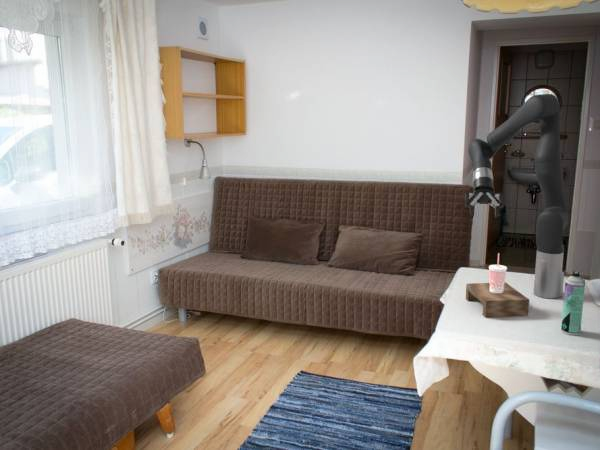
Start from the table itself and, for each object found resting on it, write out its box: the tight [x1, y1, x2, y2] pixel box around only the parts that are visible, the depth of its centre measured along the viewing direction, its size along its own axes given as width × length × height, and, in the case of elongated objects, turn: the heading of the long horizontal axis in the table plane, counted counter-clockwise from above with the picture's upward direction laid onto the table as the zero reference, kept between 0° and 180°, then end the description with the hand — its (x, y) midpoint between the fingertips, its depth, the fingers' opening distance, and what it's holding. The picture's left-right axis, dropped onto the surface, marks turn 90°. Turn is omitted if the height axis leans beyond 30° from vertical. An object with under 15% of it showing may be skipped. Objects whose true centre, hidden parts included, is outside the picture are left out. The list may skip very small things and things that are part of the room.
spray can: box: [560, 270, 586, 336], centre depth 174 cm, size 6×6×20 cm
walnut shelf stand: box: [465, 281, 530, 319], centre depth 198 cm, size 15×19×6 cm
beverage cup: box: [488, 252, 508, 293], centre depth 196 cm, size 6×6×14 cm
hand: (484, 215), depth 210 cm, fingers open, 8 cm apart
